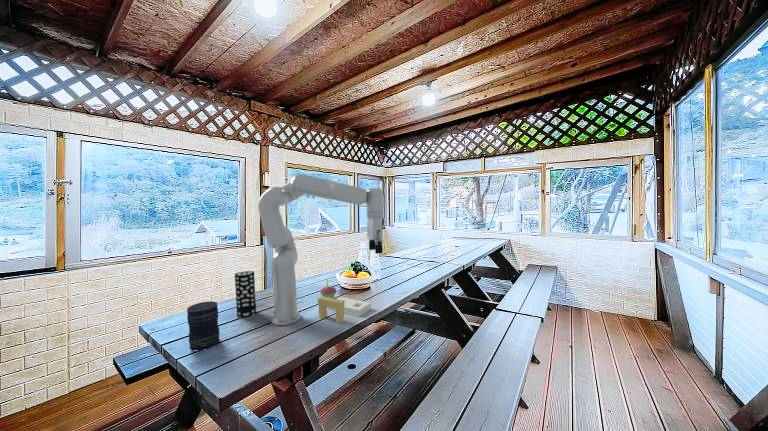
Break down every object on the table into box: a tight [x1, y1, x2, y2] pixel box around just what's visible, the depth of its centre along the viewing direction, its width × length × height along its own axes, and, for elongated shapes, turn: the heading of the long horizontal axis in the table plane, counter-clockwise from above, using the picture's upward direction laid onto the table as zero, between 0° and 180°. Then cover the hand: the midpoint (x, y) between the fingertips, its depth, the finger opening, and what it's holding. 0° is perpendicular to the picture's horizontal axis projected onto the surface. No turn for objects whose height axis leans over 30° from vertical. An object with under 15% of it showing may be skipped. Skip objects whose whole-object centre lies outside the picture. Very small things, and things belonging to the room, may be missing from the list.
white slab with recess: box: [327, 296, 372, 317], centre depth 139 cm, size 19×10×3 cm, turn 59°
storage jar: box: [186, 301, 221, 351], centre depth 108 cm, size 10×10×15 cm
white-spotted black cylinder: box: [234, 270, 257, 319], centre depth 135 cm, size 8×8×20 cm
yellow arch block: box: [317, 295, 345, 324], centre depth 128 cm, size 13×3×9 cm, turn 59°
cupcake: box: [320, 279, 337, 299], centre depth 152 cm, size 9×8×12 cm
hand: (375, 251), depth 133 cm, fingers open, 9 cm apart
